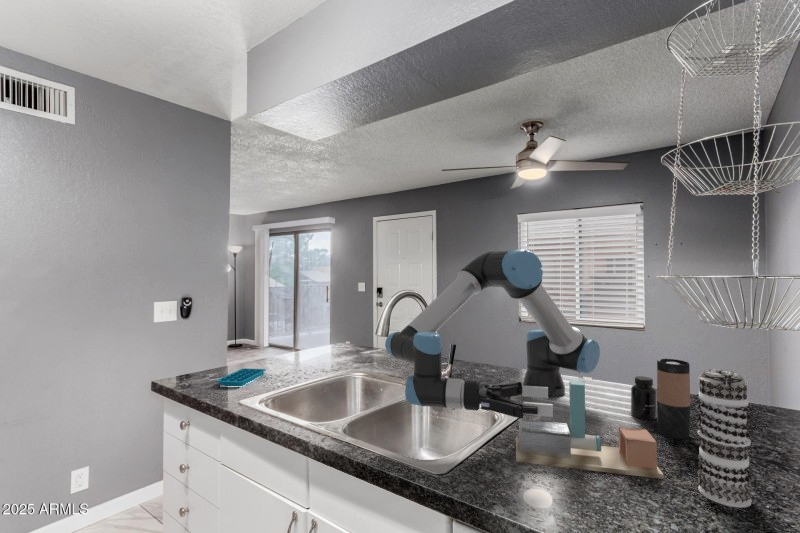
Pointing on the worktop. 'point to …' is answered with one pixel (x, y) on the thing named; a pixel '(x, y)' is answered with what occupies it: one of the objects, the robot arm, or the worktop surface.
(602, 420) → the worktop surface
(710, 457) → the decorative candle
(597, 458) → the base board
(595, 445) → the slip tube
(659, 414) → the travel mug
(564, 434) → the sleeve
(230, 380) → the ice cube tray
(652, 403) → the supplement bottle
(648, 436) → the socket
